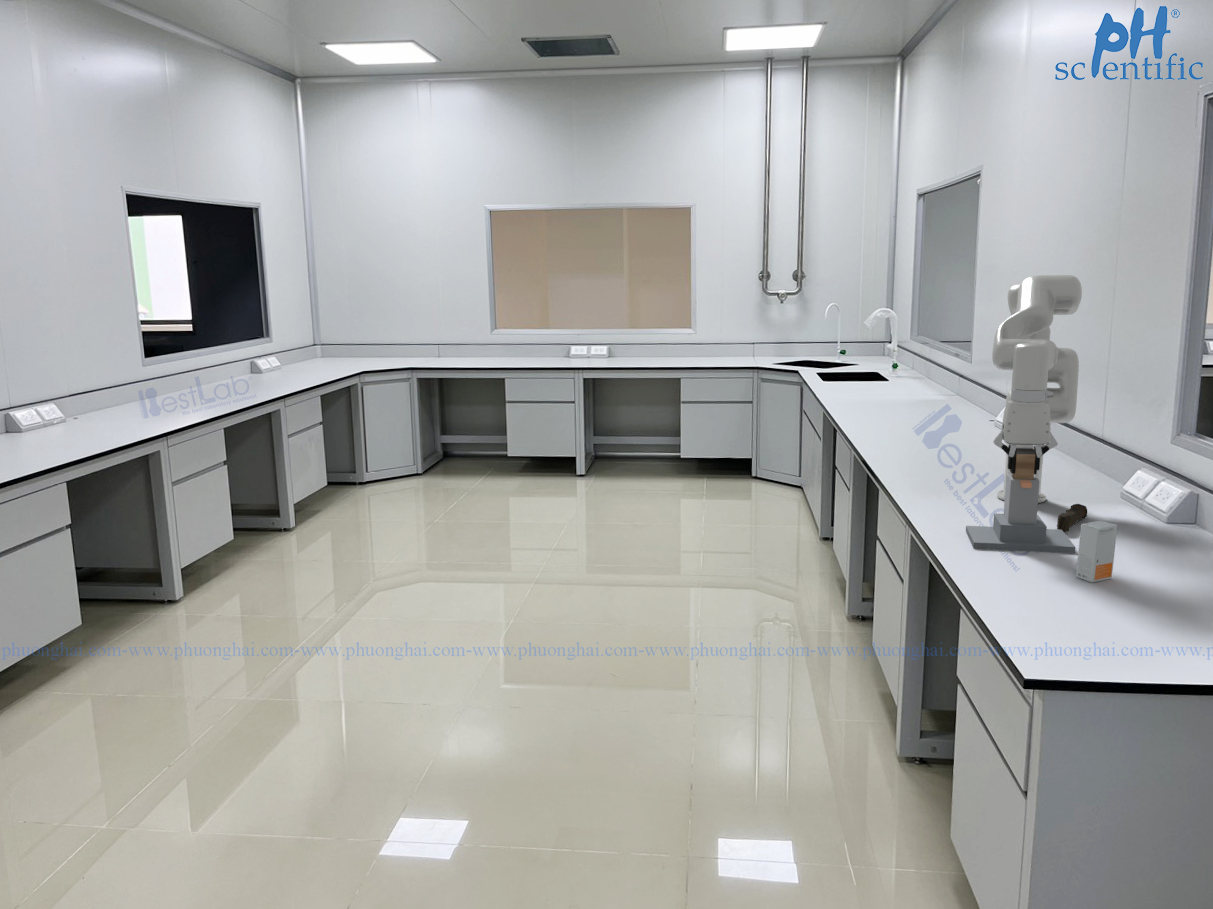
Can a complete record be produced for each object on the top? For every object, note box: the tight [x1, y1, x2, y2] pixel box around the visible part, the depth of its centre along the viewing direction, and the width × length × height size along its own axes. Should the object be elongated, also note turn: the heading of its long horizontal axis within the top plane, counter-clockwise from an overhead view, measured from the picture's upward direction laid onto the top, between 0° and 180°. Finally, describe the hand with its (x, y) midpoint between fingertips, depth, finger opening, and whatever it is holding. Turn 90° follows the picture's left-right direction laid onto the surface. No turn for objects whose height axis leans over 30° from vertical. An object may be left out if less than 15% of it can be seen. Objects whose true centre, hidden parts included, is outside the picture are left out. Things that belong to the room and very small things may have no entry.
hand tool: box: [1056, 503, 1088, 534], centre depth 234 cm, size 19×4×5 cm, turn 137°
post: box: [1012, 447, 1036, 480], centre depth 219 cm, size 4×4×17 cm
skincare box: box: [1075, 520, 1118, 583], centre depth 195 cm, size 6×4×12 cm
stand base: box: [965, 474, 1076, 554], centre depth 220 cm, size 14×22×16 cm, turn 76°
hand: (1023, 471), depth 218 cm, fingers closed on post, 4 cm apart
